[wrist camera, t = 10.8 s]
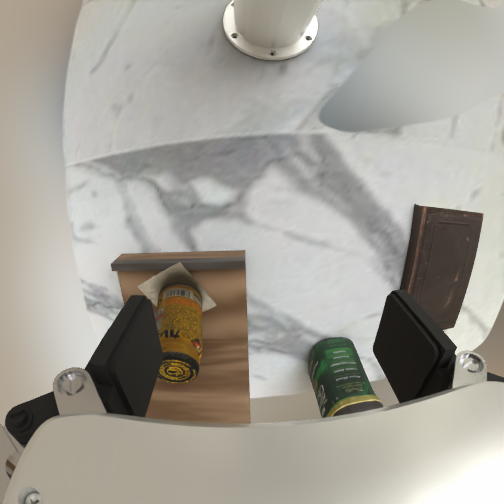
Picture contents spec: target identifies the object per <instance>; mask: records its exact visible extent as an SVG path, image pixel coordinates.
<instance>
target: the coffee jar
mask: <svg viewBox="0 0 504 504" xmlns="http://www.w3.org/2000/svg"><path fill="white" fill-rule="evenodd" d="M308 372H309V376H310V379H311V383H312V386H313V389H314V392H315V395H316V398H317V401H318V405H319V409H320V413H321V417H322V418H326V417H333V416H340V415H346V414H352V413H358V412H363V411H368V410H373V409H378V408H383V405H382V402H381V401H380V399H379V398H378V397H377V396H376V395H375V393H374V391H373V390H372V387H371V385H370V382H369V380H368V378H367V375H366V373H365V371H364V368H363V366H362V363H361V361H360V358H359V356H358V353H357V351H356V349H355V346H354V344H353V342H352V341H351V340H349V339H347V338H340V337H335V338H328V339H324V340H322V341H320V342H318V343H317V344H316V345H315V346H314V348H313V350H312V353H311V356H310V360H309V367H308Z"/></svg>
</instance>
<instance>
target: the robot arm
mask: <svg viewBox="0 0 504 504" xmlns="http://www.w3.org/2000/svg"><path fill="white" fill-rule="evenodd" d="M322 2H323V0H232V1H231V2H230V3H229V5H228V6H227V7H226V9H225V12H224V14H223V28H224V32H225V34H226V36H227V38H228V40H229V41H230V42H231V43H232V44H233V46H235V47H236V48H237V49H238V50H240V51H241V52H243V53H245V54H247V55H249V56H252V57H255V58H259V59H264V60H285V59H289V58H293V57H295V56H297V55H300V54H301V53H303V52H304V51H306V50H307V49H308V48H309V47H310V46H311V45H312V43H313V42H314V40H315V38H316V36H317V32H318V21H317V18H316V15H315V14H316V12H317V10H318V9H319V7H320V5H321V3H322ZM233 37H236V38H235V39H234V38H233ZM306 39H307V40H309V41H307V40H306ZM270 54H273V55H274V56H271V55H270ZM456 348H457V347H456V346H455V344H454V343H453V342H452V341H451V340H450V338H449V337H448V336H447V335H446V334H445V333H444V331H443V330H442V329H441V328H440V327H439V326H438V325H437V324H436V322H435V321H434V320H433V319H432V318H431V317H430V316H429V315H428V314H427V312H426V311H425V310H424V309H423V308H422V307H421V306H420V305H419V304H418V303H417V302H416V301H415V300H414V298H413V297H412V296H411V295H410V294H409V293H408V292H407V291H406V290H395V291H392V292H391V293H390V294H389V295H388V296H387V298H386V302H385V306H384V310H383V314H382V318H381V321H380V325H379V328H378V332H377V335H376V338H375V342H374V345H373V352H374V355H375V357H376V358H377V360H378V362H379V364H380V366H381V368H382V370H383V371H384V373H385V375H386V377H387V379H388V381H389V383H390V385H391V387H392V389H393V391H394V393H395V395H396V397H397V399H398V401H399V404H395V405H392V406H387V407H383V408H378V409H373V410H368V411H363V412H358V413H352V414H346V415H340V416H333V417H326V418H319V419H310V420H300V421H289V422H273V423H201V422H186V421H173V420H162V419H153V418H145V416H146V413H147V409H148V406H149V403H150V399H151V396H152V393H153V389H154V386H155V383H156V380H157V376H158V373H159V370H160V367H161V364H162V361H163V351H162V347H161V343H160V339H159V334H158V330H157V325H156V321H155V316H154V311H153V306H152V301H151V300H150V299H147V297H146V296H145V295H131V296H130V297H129V299H128V300H127V302H126V304H125V305H124V307H123V308H122V310H121V311H120V313H119V314H118V316H117V317H116V319H115V321H114V322H113V324H112V325H111V327H110V328H109V329H108V331H107V332H106V334H105V336H104V337H103V339H102V340H101V342H100V344H99V345H98V347H97V349H96V350H95V352H94V354H93V355H92V357H91V359H90V361H89V362H88V364H87V366H86V368H85V369H82V368H69V369H66V370H64V371H62V372H61V373H60V374H58V375H57V376H56V378H55V379H54V382H53V392H50V393H48V394H45V395H43V396H40V397H38V398H35V399H33V400H30V401H27V402H25V403H22V404H20V405H17V406H15V407H13V408H12V409H11V410H10V411H9V412H8V414H7V416H6V420H5V426H4V427H3V426H2V425H1V424H0V504H504V378H503V377H500V376H497V375H495V374H491V373H489V372H487V366H486V362H485V361H484V359H483V358H482V357H481V356H480V355H478V354H477V353H474V352H472V351H462V352H460V353H459V354H458V355H457V356H456V355H455V350H456Z"/></svg>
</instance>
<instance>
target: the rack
mask: <svg viewBox="0 0 504 504" xmlns="http://www.w3.org/2000/svg"><path fill="white" fill-rule="evenodd" d="M179 262H180V263H181V264H182V265H183V266H184V268H185V269H186V270H187V271H188V272H189V273H190V274H191V276H192V277H193V278H194V279H195V281H196V282H197V283H198V284H199V285H200V286H201V287H202V288H203V289H204V290H205V292H206V293H207V294H208V295H209V296H210V298H211V299H212V300H213V301H214V302H215V304H216V305H217V306H215V307H213V308H211V309H209V310H206V311H204V312H202V344H203V346H202V349H203V350H202V355H201V357H200V364H199V369H200V370H199V373H198V375H197V377H196V378H195V379H194V380H193V381H190V382H187V383H179V384H175V383H169V382H166V381H163V380H161V379H160V378H158V377H157V380H156V383H155V386H154V389H153V393H152V396H151V399H150V403H149V406H148V409H147V413H146V416H145V418H153V419H162V420H173V421H186V422H201V423H250V393H249V363H248V332H247V301H246V268H245V250H242V251H207V252H172V253H138V254H121V255H120V256H119V257H118V258H117V259H116V260H115V261H114V262H113V263H111V268H112V271H117V272H118V277H119V282H120V287H121V291H122V296H123V300H124V304H126V302H127V300H128V299H129V297H130V296H131V295H145V294H144V293H143V292H141V290H140V289H139V288H138V287H137V286H139V285H141V284H142V283H144V282H145V281H147V280H149V279H150V278H152V277H153V276H155V275H157V274H159V273H160V272H162V271H164V270H166V269H168V268H169V267H171V266H173V265H175V264H177V263H179ZM147 299H148V298H147ZM152 306H153V311H154V316H155V314H156V308H157V307H156V306H155V305H154V304H153V303H152Z"/></svg>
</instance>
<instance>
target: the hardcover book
mask: <svg viewBox="0 0 504 504" xmlns="http://www.w3.org/2000/svg"><path fill="white" fill-rule="evenodd" d="M482 221H483V214H482V213H475V212H468V211H460V210H453V209H444V208H435V207H426V206H419V205H416V204H415V206H414V214H413V222H412V229H411V236H410V242H409V248H408V253H407V258H406V264H405V269H404V273H403V278H402V282H401V287H400V290H406V291H407V292H408V293H409V294H410V295H411V296H412V297H413V298H414V300H415V301H416V302H417V303H418V304H419V305H420V306H421V307H422V308H423V309H424V310H425V311H426V312H427V314H428V315H429V316H430V317H431V318H432V319H433V320H434V321H435V322H436V324H437V325H438V326H439V327H440V328H441V329H442V330H444V329H449V328H453V327H454V326H455V323H456V320H457V318H458V315H459V312H460V309H461V306H462V303H463V300H464V297H465V294H466V290H467V287H468V284H469V280H470V276H471V273H472V269H473V265H474V261H475V257H476V252H477V248H478V243H479V238H480V232H481V227H482Z"/></svg>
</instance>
